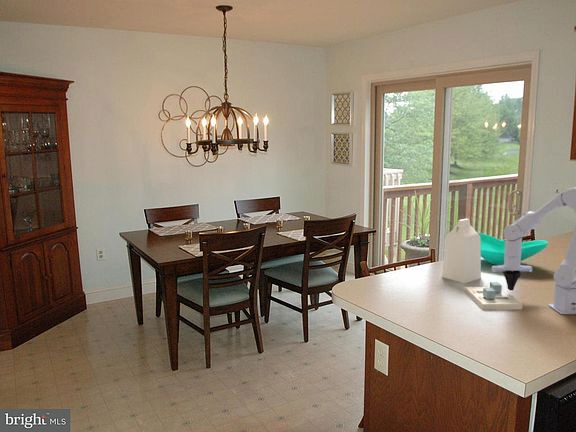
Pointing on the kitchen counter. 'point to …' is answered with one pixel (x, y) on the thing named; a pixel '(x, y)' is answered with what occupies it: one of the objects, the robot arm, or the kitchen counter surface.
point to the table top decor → (496, 249)
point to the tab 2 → (496, 286)
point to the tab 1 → (489, 293)
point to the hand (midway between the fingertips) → (510, 289)
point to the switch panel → (500, 301)
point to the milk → (462, 253)
